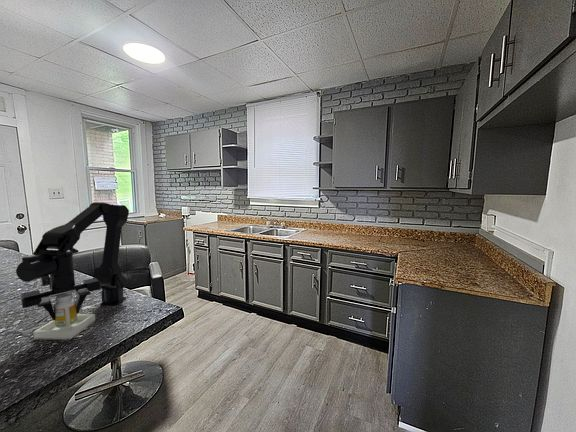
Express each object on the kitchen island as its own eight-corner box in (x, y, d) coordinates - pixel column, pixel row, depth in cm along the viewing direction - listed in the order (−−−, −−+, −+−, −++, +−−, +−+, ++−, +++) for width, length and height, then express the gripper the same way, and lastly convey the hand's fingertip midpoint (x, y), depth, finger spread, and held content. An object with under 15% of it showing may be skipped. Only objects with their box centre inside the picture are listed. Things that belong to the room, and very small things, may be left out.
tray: (95, 320, 87) (94, 314, 87) (70, 339, 77) (69, 331, 76) (64, 320, 87) (63, 314, 86) (34, 339, 76) (33, 331, 76)
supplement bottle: (75, 317, 85) (72, 290, 84) (79, 323, 82) (76, 295, 81) (53, 324, 81) (51, 295, 80) (57, 330, 78) (54, 300, 77)
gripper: (91, 258, 92) (94, 299, 94) (16, 271, 77) (22, 319, 79) (100, 265, 85) (103, 309, 86) (19, 280, 70) (25, 332, 72)
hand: (66, 316), depth 81 cm, fingers closed on supplement bottle, 5 cm apart
